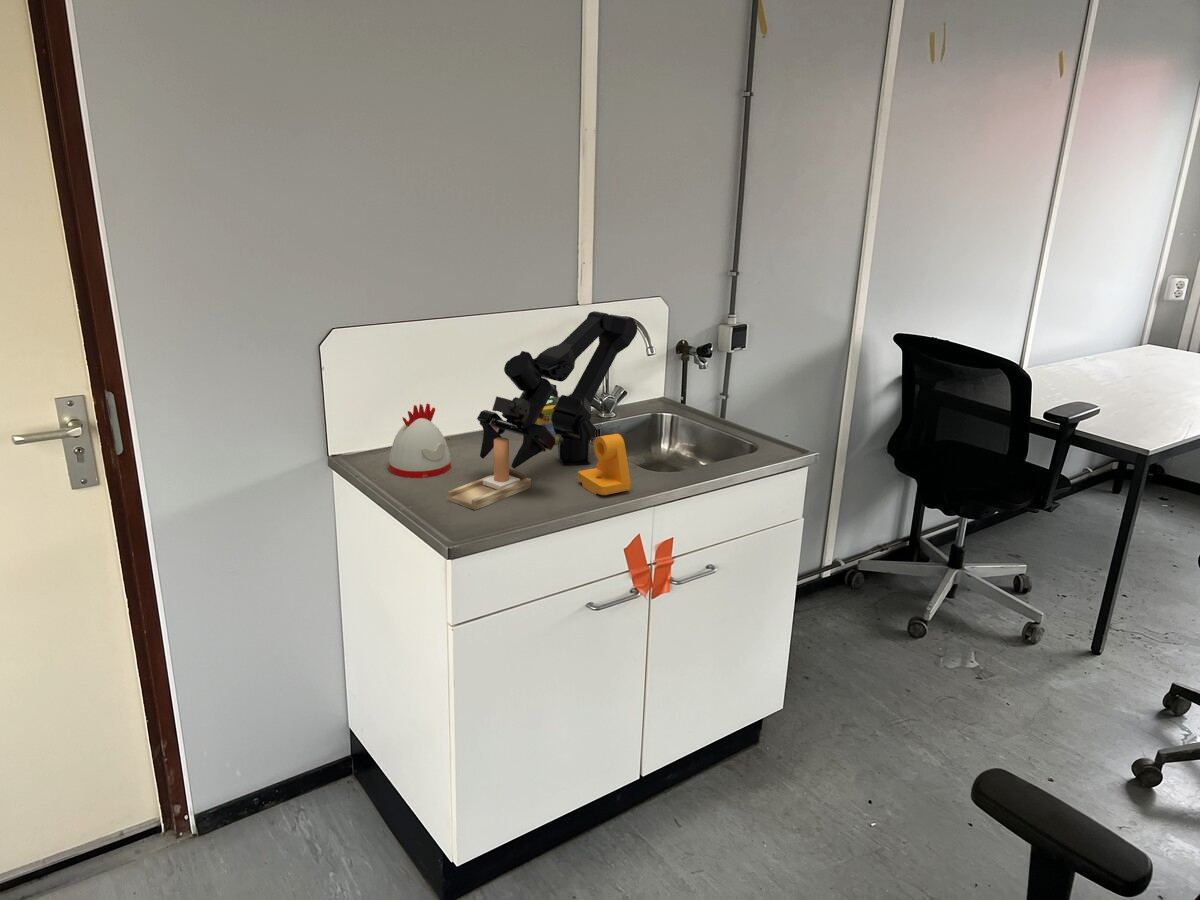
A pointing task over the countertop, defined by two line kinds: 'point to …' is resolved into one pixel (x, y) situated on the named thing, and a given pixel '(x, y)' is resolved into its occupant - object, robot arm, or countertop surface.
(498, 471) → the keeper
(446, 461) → the kitchen timer
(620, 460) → the bracket
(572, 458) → the robot arm
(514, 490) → the wooden tray
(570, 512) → the countertop surface
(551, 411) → the crayon box
